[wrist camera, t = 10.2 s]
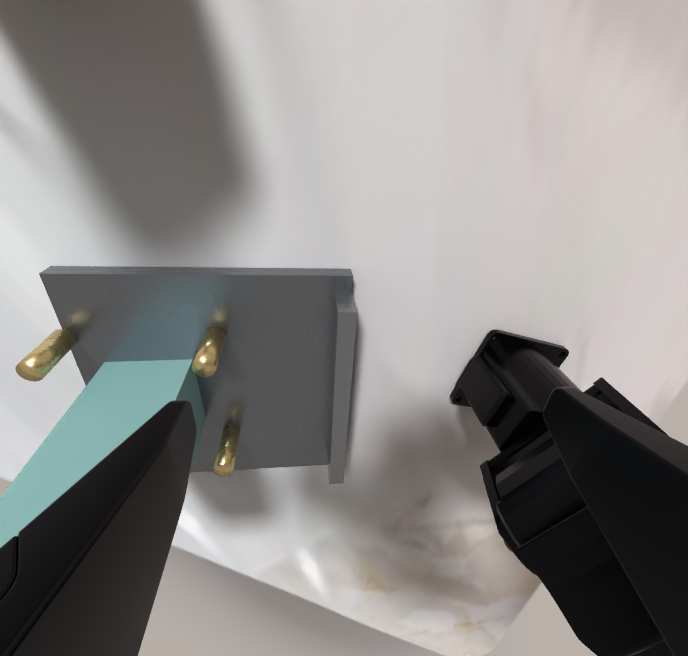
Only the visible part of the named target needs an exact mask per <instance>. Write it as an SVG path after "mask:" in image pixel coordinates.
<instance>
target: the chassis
mask: <svg viewBox="0 0 688 656" xmlns="http://www.w3.org/2000/svg"><path fill="white" fill-rule="evenodd" d="M39 274H40V277H41V279H42V282H43V284H44V286H45V289H46V291H47V294H48V296H49V298H50V301H51V303H52V306H53V308H54V310H55V313H56V315H57V317H58V320H59V322H60V325H61V327H62V329H58V330H55V331H54V332H53V333H52V334H51V335H49V336H48V337H47V338H46V339H45V340H44V341H43V342H42V343H41V344H40V345H38V346H37V347H36V348H35V349H34V350H33V351H32V352H31V353H30V354H29V355H27V356H26V357H25V358H24V359H23V360H22V361H21V362H20V363H19V364H18V365H17V366H16V372H17V373H18V375H19V376H21V377H22V378H24V379H26V380H29V381H39V380H42V379H43V378H44V377H45V376H46V375H47V374H48V372H49V371H50V370H51V369H52V368H53V367H54V366H55V365H56V364H57V363H58V362H59V361H60V360H61V359H62V358H63V357H64V356H65V355H66V354H67V352H68V351H69V350H70V349H71V351H72V353H73V356H74V358H75V360H76V363H77V365H78V368H79V370H80V372H81V375H82V377H83V380H84V382H85V384H86V386H87V384H88V383H89V382H90V381H91V379H92V378H93V377H94V375H95V374H96V373H97V371H98V370H99V369H100V368H101V366H102V365H103V364H104V362H123V361H156V360H188V359H193V364H192V370H193V371H194V373H195V374H196V376H197V381H198V385H199V390H200V394H201V399H202V403H203V408H204V412H205V417H206V420H205V424H204V427H203V430H202V434H201V437H200V440H199V444H198V447H197V450H196V454H195V457H194V460H193V464H192V467H191V470H190V472H204V471H214V473H215V474H217V475H219V476H229V475H231V474H232V473H233V470H239V469H257V468H275V467H293V466H311V465H328V472H329V484H334V483H343V481H344V469H345V457H346V445H347V432H348V420H349V408H350V396H351V384H352V372H353V359H354V347H355V335H356V323H357V309H356V306H355V302H354V299H353V295H352V279H353V275H352V272H351V269H299V268H189V267H79V266H50V267H49V268H47V269H46V270H44V271H43V272H41V273H39Z"/></svg>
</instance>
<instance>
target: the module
mask: <svg viewBox="0 0 688 656" xmlns="http://www.w3.org/2000/svg"><path fill="white" fill-rule="evenodd" d="M192 364H193V359H188V360H156V361H123V362H104V364H103V365H102V366H101V368H100V369H99V370H98V371H97V373H96V374H95V375H94V377H93V378H92V379H91V381H90V382H89V383H88V384H87V386H86V387H85V388H84V390H83V391H82V392H81V394H80V395H79V396H78V397H77V399H76V400H75V401H74V403H73V404H72V405H71V407H70V408H69V409H68V410H67V412H66V413H65V414H64V416H63V417H62V418H61V420H60V421H59V422H58V423H57V425H56V426H55V427H54V429H53V430H52V431H51V433H50V434H49V435H48V437H47V438H46V439H45V440H44V442H43V443H42V444H41V446H40V447H39V448H38V450H37V451H36V452H35V453H34V455H33V456H32V457H31V459H30V460H29V461H28V463H27V464H26V465H25V466H24V468H23V469H22V470H21V472H20V473H19V474H18V476H17V477H16V478H15V479H14V481H13V482H12V483H11V485H10V486H9V487H8V489H7V490H6V491H5V492H4V494H3V495H2V496H1V498H0V548H1V547H2V546H3V545H4V544H5V543H6V542H8V541H9V540H10V539H11V538H12V537H14V536H18V533H19V531H20V530H22V529H23V528H24V527H25V526H26V525H27V524H29V523H30V522H31V521H32V520H33V519H34V518H35V517H37V516H38V515H39V514H40V513H41V512H42V511H44V510H45V509H46V508H47V507H48V506H49V505H51V504H52V503H53V502H54V501H55V500H56V499H57V498H59V497H60V496H61V495H62V494H63V493H64V492H66V491H67V490H68V489H69V488H70V487H71V486H72V485H74V484H75V483H76V482H77V481H78V480H79V479H81V478H82V477H83V476H84V475H85V474H86V473H87V472H89V471H90V470H91V469H92V468H93V467H94V466H96V465H97V464H98V463H99V462H100V461H101V460H102V459H104V458H105V457H106V456H107V455H108V454H109V453H111V452H112V451H113V450H114V449H115V448H116V447H117V446H119V445H120V444H121V443H122V442H123V441H124V440H126V439H127V438H128V437H129V436H130V435H131V434H132V433H134V432H135V431H136V430H137V429H138V428H139V427H141V426H142V425H143V424H144V423H145V422H146V421H147V420H149V419H150V418H151V417H152V416H153V415H154V414H156V413H157V412H158V411H159V410H160V409H161V408H162V407H164V406H165V405H166V404H167V403H168V402H170V401H177V400H188V401H189V402H190V403H191V405H192V409H193V414H194V418H195V422H196V439H195V445H194V450H193V456H192V461H191V467H192V464H193V460H194V457H195V454H196V450H197V447H198V444H199V440H200V437H201V434H202V430H203V427H204V424H205V420H206V417H205V412H204V408H203V403H202V399H201V394H200V390H199V385H198V381H197V376H196V374H195V373H194V371H193V370H192ZM191 467H190V470H191ZM189 474H190V473H189Z"/></svg>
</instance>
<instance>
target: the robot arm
mask: <svg viewBox="0 0 688 656" xmlns="http://www.w3.org/2000/svg"><path fill="white" fill-rule="evenodd" d="M495 336H497V337H496V338H495V339H493V338H494V337H495ZM568 354H569V351H568V350H567V349H566V348H565V347H564V346H561V345H557V344H553V343H549V342H545V341H541V340H537V339H533V338H529V337H525V336H521V335H517V334H513V333H509V332H505V331H501V330H492V331H490V332H489V333H488V334H487V336H486V338H485V339H484V341H483V343H482V344H481V346H480V348H479V349H478V351H477V352H476V354H475V356H474V357H473V359H472V361H471V362H470V364H469V366H468V367H467V369H466V371H465V372H464V374H463V376H462V377H461V379H460V381H459V382H458V384H457V385H456V387H455V389H454V390H453V392H452V394H451V396H450V398H451V400H452V402H453V403H454V404H457V405H462V406H468V407H472V409H473V410H474V412H475V414H476V416H477V417H478V419H479V421H480V423H481V424H482V426H485V427H486V428H487V430H488V431H489V433H490V435H491V436H492V438H493V440H494V441H495V443H496V445H497V447H498V448H499V450H500V451H501V452H500V453H499V454H498V455H496V456H495V457H494V458H492V459H491V460H489V461H485V462H484V463H483V464H481V465H480V468H481V471H482V475H483V480H484V483H485V487H486V490H487V494H488V497H489V501H490V504H491V508H492V511H493V515H494V518H495V522H496V525H497V529H498V532H499V534H500V535H501V537H502V538H503V539H504V542H505V545H506V546H507V548H508V549H509V550H510V551H512V552H513V553H514V554H515V555H516V556H517V558H518V559H519V560H520V561H521V562H522V563H523V564H524V566H525V567H526V568H527V569H529V570H530V571H531V572H532V573H533V574H535V575H537V576H538V577H539V578H540V580H541V581H542V583H543V584H544V585H545V587H546V588H547V589H548V591H549V592H550V594H551V596H552V597H553V599H554V600H555V602H556V603H557V605H558V607H559V608H560V610H561V611H562V613H563V615H564V616H565V618H566V619H567V621H568V623H569V625H570V626H571V628H572V630H573V631H574V633H575V634H576V636H577V637H578V639H579V640H580V641H581V642H582V643H583V644H584V645H585V646H587V647H588V648H589V649H590V650H591V651H592V652H594V653H595V654H596V655H597V656H688V446H687V445H684V444H683V443H681V442H679V441H677V440H675V439H673V438H671V437H669V436H668V435H667V434H666V433H665V432H664V431H663V430H661V429H660V428H659V427H658V426H657V425H656V424H655V423H654V422H652V421H651V420H650V419H649V418H648V417H647V416H646V415H644V414H643V413H642V412H641V411H640V410H639V409H637V408H636V407H635V406H634V405H633V404H632V403H631V402H629V401H628V400H627V399H626V398H625V397H624V396H623V395H621V394H620V393H619V392H618V391H617V390H616V389H614V388H613V387H612V386H611V385H610V384H609V383H608V382H606V381H605V380H604V379H603V378H602V377H601V378H600V379H598V380H597V381H595V382H594V383H593V384H594V385H593V386H592V387H590V388H589V389H587V390H586V391H585V392H582V391H581V390H580V389H579V388H578V387H577V386H576V385H575V384H574V383H573V382H572V381H571V380H570V379H569V378H568V377H567V376H566V375H565V374H564V373H563V372H562V371H561V370H560V369H559V367H560V365H561V364H562V363H563V361H564V360H565V359H566V357H567V356H568ZM457 397H458V398H457ZM195 439H196V422H195V418H194V414H193V409H192V405H191V403H190V402H189V401H188V400H177V401H170V402H168V403H167V404H166V405H165V406H164V407H162V408H161V409H160V410H159V411H158V412H157V413H156V414H154V415H153V416H152V417H151V418H150V419H149V420H147V421H146V422H145V423H144V424H143V425H142V426H141V427H139V428H138V429H137V430H136V431H135V432H134V433H132V434H131V435H130V436H129V437H128V438H127V439H126V440H124V441H123V442H122V443H121V444H120V445H119V446H117V447H116V448H115V449H114V450H113V451H112V452H111V453H109V454H108V455H107V456H106V457H105V458H104V459H102V460H101V461H100V462H99V463H98V464H97V465H96V466H94V467H93V468H92V469H91V470H90V471H89V472H87V473H86V474H85V475H84V476H83V477H82V478H81V479H79V480H78V481H77V482H76V483H75V484H74V485H72V486H71V487H70V488H69V489H68V490H67V491H66V492H64V493H63V494H62V495H61V496H60V497H59V498H57V499H56V500H55V501H54V502H53V503H52V504H51V505H49V506H48V507H47V508H46V509H45V510H44V511H42V512H41V513H40V514H39V515H38V516H37V517H35V518H34V519H33V520H32V521H31V522H30V523H29V524H27V525H26V526H25V527H24V528H23V529H22V530H20V531H19V533H18V536H14V537H12V538H11V539H10V540H9V541H8V542H6V543H5V544H4V545H3V546H2V547H1V548H0V656H138V653H139V650H140V646H141V643H142V640H143V636H144V633H145V630H146V626H147V623H148V620H149V616H150V613H151V610H152V607H153V603H154V600H155V596H156V593H157V590H158V587H159V583H160V580H161V577H162V573H163V570H164V566H165V563H166V560H167V557H168V553H169V550H170V547H171V543H172V540H173V537H174V534H175V530H176V527H177V524H178V520H179V517H180V514H181V510H182V507H183V503H184V499H185V494H186V489H187V484H188V478H189V473H190V467H191V461H192V456H193V450H194V445H195Z"/></svg>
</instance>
